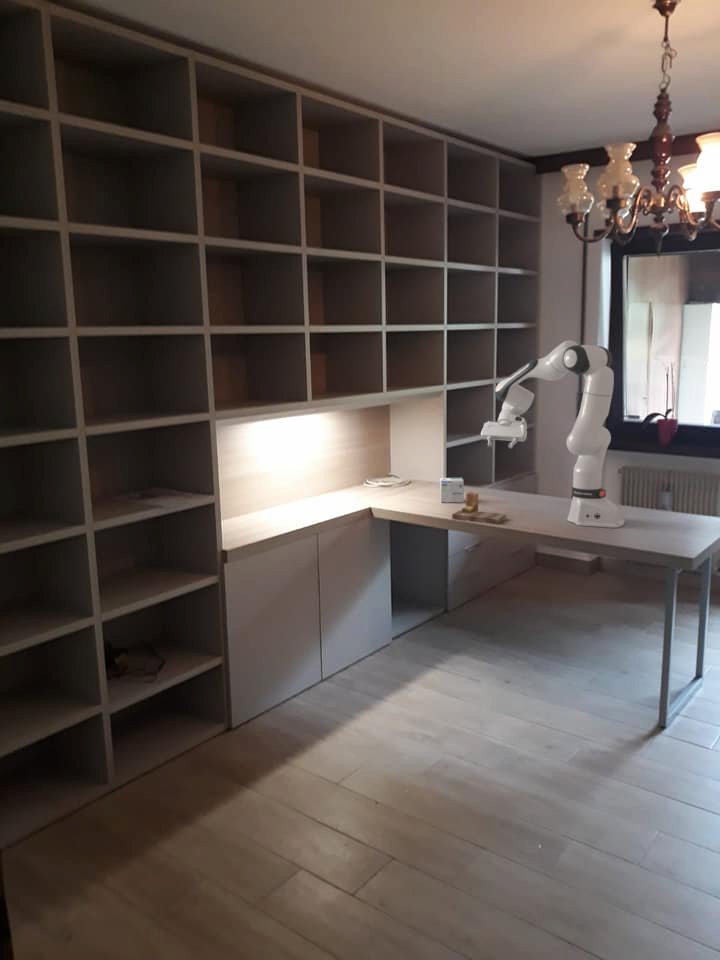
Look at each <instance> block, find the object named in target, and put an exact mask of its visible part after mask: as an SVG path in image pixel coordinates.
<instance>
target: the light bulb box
mask: <svg viewBox="0 0 720 960" xmlns="http://www.w3.org/2000/svg"><path fill="white" fill-rule="evenodd" d="M464 485H465V483H464V479H463V477H440V478H439V497H440V498H439V501H441V502H440V504H443V503H442V502H463V503H464V490H465V488H464V487H465V486H464Z"/></svg>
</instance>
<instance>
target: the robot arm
mask: <svg viewBox="0 0 720 960" xmlns="http://www.w3.org/2000/svg"><path fill="white" fill-rule="evenodd" d="M612 362H613V356H612V352H611V351H610V350H609V349H608V348H606V347H604V346H598V345H597V346H596V345H590V344H581V345H579V344H578V342H576V341H573V340H570V339H569V340H568V339H567V340H565V341H563V342H562V343H560V344H558V345H557V346H556V347H555V348H553V349H552V350H551V351H550V353H549V354H547V355H546V356H544V357H542V358H541V357H540V358H537V359H535V358H534V359H532V360H530V361H529V362H527V363H525V364H524V365H523V366H521V367H520V368H518V369H517V370H515V372H513V373H512V374H510V375H509V376H507V377H505V378H503V379H502V380H500V381H499V382H498V383H497V385H496V387H495V389H494V393H495V396H496V399H497V400H498V401H501V402H503V403H502V406H501V411H500V413H499V415H498V418H497V421H496V420H495V421H494V420H488V421H486V422H484V423H483V427H482V429H481V431H480V436H481V438H482V439H483V440H487V447H489V448H491V447H492V446H493V442H492V440H493V441H507V442H508V449H513V447H514V446H515V444H517V443H518V442H525V441H526V440H527V435H528V431H527V430H528V425H527V421H526V419H525V418H524V417H522V416H523V415H526V414H529V413H530V412H532V411H533V410H534V407H535V405H536V401H537V399H536V394H535V393H533V392H532V391H530V390H529V389H526V388H525V387H524V386H521V385H520V384H521V382H523V381H524V380H526V379H528V378H536V379H537V378H538V379H542V380H546V381H549V382H550V381H551V382H553V381H558V380H560V379H562V378H564V377H565V376H566V375H567V374H568V373H569V372H571V373H574V374H575V375H577V376H578V377H581V376H583V377H584V380H585V382H584V383H585V384H584V388H583V391H582V393H583V394H582V399H581V402H580V403H581V404H580V408H579V412H578V415H577V418H576V420H575V423H574V425H573V427H572V430H571V432H570V433H569V435H568V436H567V438H566V447H567V449H568V451H569V452H570V453H571V454H572V455H576V456H578V458H577V460H576V463H575V465H574V467H573V476H572V477H573V478H572V479H573V480H572V486H571V491H570V499H571V502H570V508H569V513H568V516H567V517H566V518H567V521H568V522H569V523H573V524H575V525H577V526H583V527H584V526H585V527H599V528H614V529H616V528H621V527H622V526H624V525H625V519H624V518H621V517H620V513H619V509H618V506H616V505H615V504H614V503H613V502H612V501H611V500H609V499H608V498H607V497H606V495H607V494H606V493H607V489H606V488H605V489H604V488H602V475H603V473H602V472H603V466H604V461H605V459H606V454H607V450H608V447H609V445H610V443H611V441H612V440H611V439H612V435H611V432H610V431H609V429H607V428H606V427H604V426H603V425H604V422H605V421H606V419H607V418H608V416H609V413H610V408H611V402H612V398H613V392H614V384H615V382H614V380H615V379H614V376H615V375H614V370H613V369H612V368H611V365H612Z"/></svg>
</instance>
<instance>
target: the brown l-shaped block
mask: <svg viewBox="0 0 720 960" xmlns="http://www.w3.org/2000/svg"><path fill="white" fill-rule="evenodd" d="M461 510H462V512H466V513H470V512H471V511H479V493H478V492H471V491H470V492H467V493H466V494H465V506H464V507H462V509H461Z"/></svg>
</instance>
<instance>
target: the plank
mask: <svg viewBox="0 0 720 960" xmlns="http://www.w3.org/2000/svg"><path fill="white" fill-rule="evenodd" d="M451 519H452V520H458V521H465V520H469V521H468V522H474V521H476V523H482V522H485V523H484V524H491V523H493V524H492V525H499V524H500V522H501V521H502V522H504V521H505V520H506V519H507V515H506V514H505V513H495V512H487V511H479V510H478V511H471V512H470V513H466V512H462V509H459V510H457V511H455V512H454V513H452V514H451ZM504 519H505V520H504ZM503 520H504V521H503ZM502 522H501V523H502Z"/></svg>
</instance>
